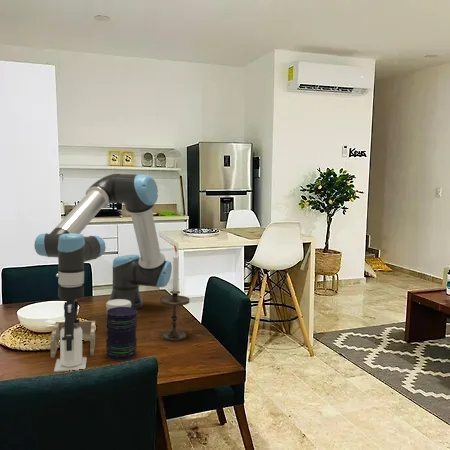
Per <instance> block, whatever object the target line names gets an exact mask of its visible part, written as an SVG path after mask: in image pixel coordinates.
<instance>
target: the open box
mask: <svg viewBox="0 0 450 450" xmlns="http://www.w3.org/2000/svg"><path fill="white" fill-rule="evenodd" d="M77 324H80V325H81V328H82V339H83V340H84V341H83V342H89V344H90V346H89V347H90V348H89V353H90V354H89V356H95V345H96V320H79V323H77ZM63 325H65V321H55V323H54V326H53V329H52V331H51V334H50V359H56V354H57V351H58V348H57V345H58V346H59V344H58V342H59V340H60V332H61V329H62V326H63ZM59 343H60V342H59Z"/></svg>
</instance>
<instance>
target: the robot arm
mask: <svg viewBox="0 0 450 450" xmlns="http://www.w3.org/2000/svg"><path fill="white" fill-rule="evenodd" d="M158 192H159V189H158V185H157V182H156V181H155V179H154V177H152V176H151V175H147V174H142V173H139V174H136V173H135V174H133V173H132V174H131V173H130V174H128V173H111V174H108V175H105V176H104V177H101V178H100V179H98V180H96V181H95V182H94V183H93V184H91V186H89V187H88V189H86V192H85V196H83V198H81V200H80V201H79V202H78V203H77V204H76V205H75V206H74V207H73V208H72V210H71V211H69V213H68V214H67V215H65V217H64V218H63V219H62V220H61V221H60V222H59V223H58V224H57V225H56V227H55V228H54V229H53V230H51V232H50V233H47V232H45V233H41V234H40V233H39V234H38V235H37V236H36V238H35V240H34V243H33V244H34V247H33V248H34V251H35V252H36V254H37V255H38V256H41V257H45V258H46V257H47V258H57V261H58V268H57V269H58V271H57V272H58V273H56V274H55V277H57V278H58V279H57V280H58V282H57V283H58V287H57V297H58V298H59V299H61V300H66V301H65V302H64V304H63V310H64V311H63V312H64V313H63V315H64V322H65V328H64V337H62V340H64V361H73V360H74V323H79V321H80V319H78V307H79V301H77V300H79V299H81V298H83V297H84V295H85V285H84V284H85V263H86V262H88V261H92V260H96V259H98V258H101V257H102V256H103V255H104V254H105V252H106V248H107V247H106V243H105V241H104V239H103V238H102V237H100V236H99V235H89V236H84V235H83V234H82V231H83V230H84V229H85V228H86V227H87V226H88V225H89V223H91V221H92V220H93V219H94V218H95V216H96V215H97V214H98V213H99V212H100V211H101V209H105V208H106V207H108V206H109V205H110V204H124V206H125V210H126V212H128V213H130V216H131V220H132V225H133V229H134V234H135V239H136V242H137V243H136V244H137V246H138V251H139V254H128V255H126V254H125V255H120V256H117V257H115V258H114V259H113V260H112V290H111V293H110V296H109V299H108V301H110V300H114V299H125V300H129V301H130V302H131V304H132V305H131V308H135V309H136V310H138V309H140V308H142V307H143V299H142V295H141V292H140V286H144V287H155V288H164V287H166V286H167V285H168V283H169V282H170V279H171V276H172V272H173V264H172V262H171V261H169V260H166V257H165V255H164V254H163V252H161V249H160V244H159V239H158V233H157V230H156V224H155V220H154V214H153V208H154V207H155V204H156V203H157V201H158V197H159V195H158ZM67 335H71V336H67Z"/></svg>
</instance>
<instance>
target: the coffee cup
mask: <svg viewBox="0 0 450 450" xmlns="http://www.w3.org/2000/svg"><path fill="white" fill-rule="evenodd" d="M131 305H132V304H131V302H130V301H129V300H125V299H114V300H110V301H109V300H108V301H107V302H106V303H105V308H106V313H107V310H109V309H111V308H115V307H131Z"/></svg>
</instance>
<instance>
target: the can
mask: <svg viewBox="0 0 450 450" xmlns="http://www.w3.org/2000/svg"><path fill="white" fill-rule="evenodd" d="M64 328H65V325H63V326H62V329H61V332H60V342H59V344H60V345H59V346H60V347H59V348H60V350H59V352H60V354H59V357H60V358H59V359H60V364H61V365H62V366H64V367H75V366H78V365H80V364H81V363H82V357H83V341H82V328H81V325H80V324H77V323H74V360H73V361H64V340H62V337H64ZM67 336H71V335H67Z"/></svg>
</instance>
